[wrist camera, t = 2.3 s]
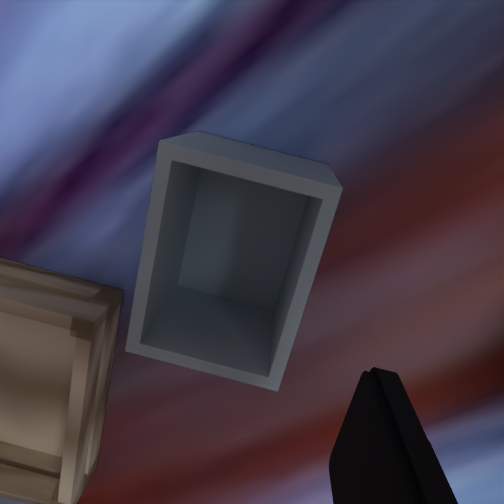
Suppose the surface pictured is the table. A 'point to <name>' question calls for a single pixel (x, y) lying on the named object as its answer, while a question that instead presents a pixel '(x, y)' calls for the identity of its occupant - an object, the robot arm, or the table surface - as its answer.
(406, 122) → the table surface
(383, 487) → the robot arm
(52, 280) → the birch crate
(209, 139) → the slate crate
